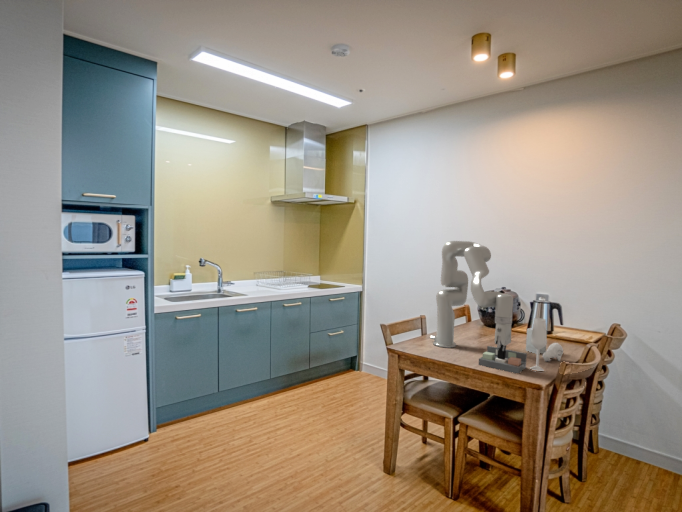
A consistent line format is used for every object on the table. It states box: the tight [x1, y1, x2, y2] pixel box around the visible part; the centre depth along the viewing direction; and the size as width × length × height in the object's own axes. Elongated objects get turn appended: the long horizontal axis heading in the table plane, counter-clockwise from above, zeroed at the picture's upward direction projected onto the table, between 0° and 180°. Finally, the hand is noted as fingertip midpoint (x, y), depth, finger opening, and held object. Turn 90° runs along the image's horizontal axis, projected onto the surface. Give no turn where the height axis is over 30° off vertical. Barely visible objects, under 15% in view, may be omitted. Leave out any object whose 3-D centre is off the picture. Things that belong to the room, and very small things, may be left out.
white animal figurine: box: [541, 342, 564, 362], centre depth 204 cm, size 6×8×12 cm
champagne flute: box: [529, 317, 548, 371], centre depth 188 cm, size 7×7×24 cm
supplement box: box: [525, 327, 548, 355], centre depth 219 cm, size 7×7×13 cm
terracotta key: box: [508, 357, 521, 366], centre depth 187 cm, size 4×4×2 cm
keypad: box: [478, 345, 528, 374], centre depth 192 cm, size 18×12×7 cm, turn 50°
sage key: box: [481, 351, 495, 360], centre depth 194 cm, size 4×4×2 cm
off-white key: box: [495, 358, 508, 363], centre depth 190 cm, size 4×4×2 cm
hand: (501, 358), depth 190 cm, fingers closed
